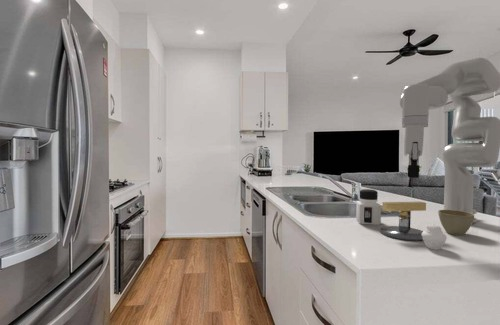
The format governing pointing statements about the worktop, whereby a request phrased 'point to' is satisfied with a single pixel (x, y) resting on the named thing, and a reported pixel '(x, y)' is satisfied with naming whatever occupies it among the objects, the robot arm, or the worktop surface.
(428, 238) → the white rounded lump
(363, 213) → the container
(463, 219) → the olive brown bowl
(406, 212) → the tan t-shaped block
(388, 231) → the post base
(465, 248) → the worktop surface
